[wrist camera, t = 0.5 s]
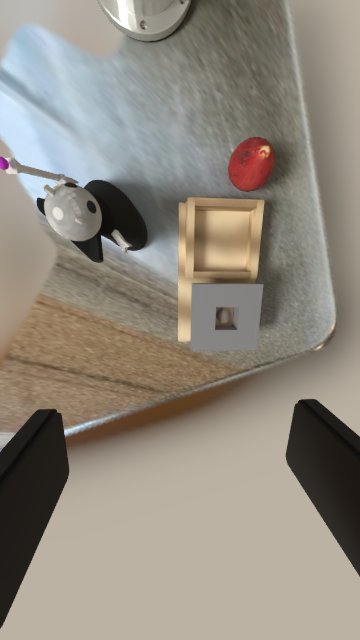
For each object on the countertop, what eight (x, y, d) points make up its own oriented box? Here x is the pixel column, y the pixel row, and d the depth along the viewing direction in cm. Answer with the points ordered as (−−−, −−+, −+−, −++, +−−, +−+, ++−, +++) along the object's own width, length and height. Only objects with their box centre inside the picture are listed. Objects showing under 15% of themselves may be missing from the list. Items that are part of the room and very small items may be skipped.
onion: (217, 193, 32) (236, 169, 24) (227, 150, 30) (249, 111, 23) (252, 202, 32) (281, 182, 25) (263, 161, 31) (296, 126, 23)
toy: (161, 228, 31) (123, 237, 18) (133, 259, 34) (83, 287, 21) (101, 161, 28) (3, 113, 15) (76, 201, 31) (-25, 190, 18)
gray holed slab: (191, 282, 30) (194, 284, 28) (255, 282, 31) (263, 284, 29) (190, 345, 33) (192, 351, 30) (250, 344, 33) (256, 349, 31)
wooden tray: (178, 204, 32) (182, 191, 26) (259, 207, 33) (278, 195, 27) (178, 339, 37) (180, 351, 32) (247, 337, 38) (261, 349, 33)
